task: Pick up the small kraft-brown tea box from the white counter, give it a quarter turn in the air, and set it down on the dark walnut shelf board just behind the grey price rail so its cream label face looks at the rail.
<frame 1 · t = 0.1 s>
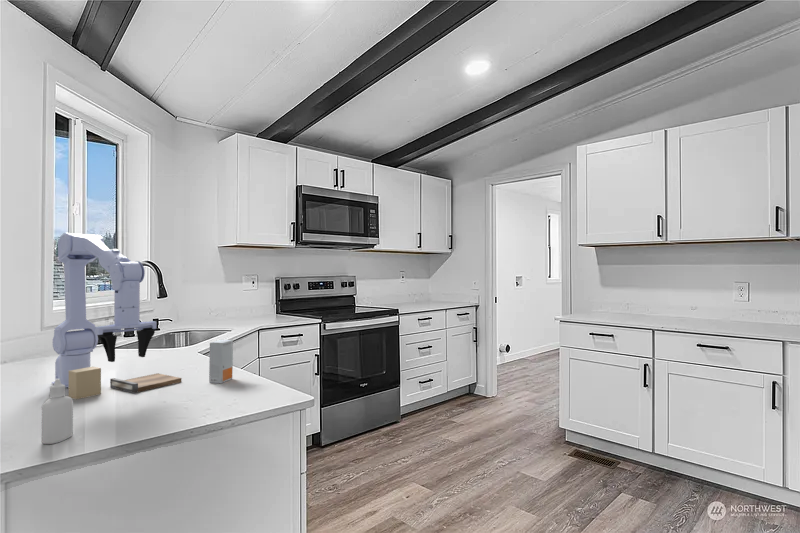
hand: (127, 359, 121), 10 cm above the counter, tool pointing down, fingers open, 7 cm apart
skincare box: (221, 381, 139), on the counter
eye dropper bottle: (57, 440, 92), on the counter
shelf: (146, 384, 135), on the counter
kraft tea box: (84, 395, 123), on the counter
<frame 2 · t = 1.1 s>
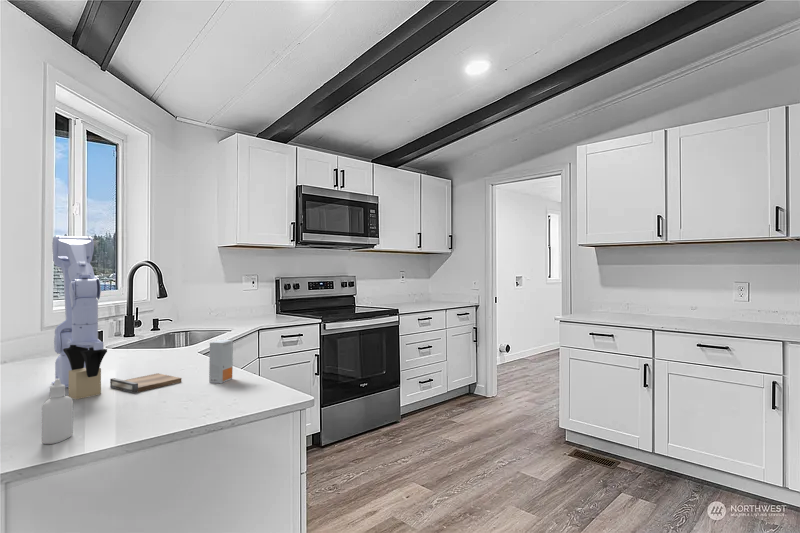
hand: (85, 374, 123), 5 cm above the counter, tool pointing down, fingers open, 7 cm apart
nothing on the counter moved.
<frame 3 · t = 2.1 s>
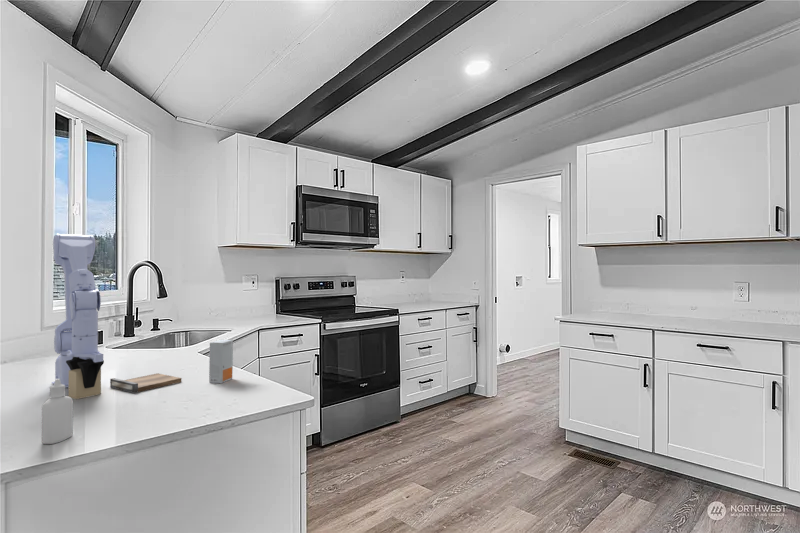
hand: (84, 386, 123), 2 cm above the counter, tool pointing down, fingers closed on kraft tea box, 4 cm apart
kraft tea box: (84, 395, 123), on the counter, touching gripper
everything else where it was.
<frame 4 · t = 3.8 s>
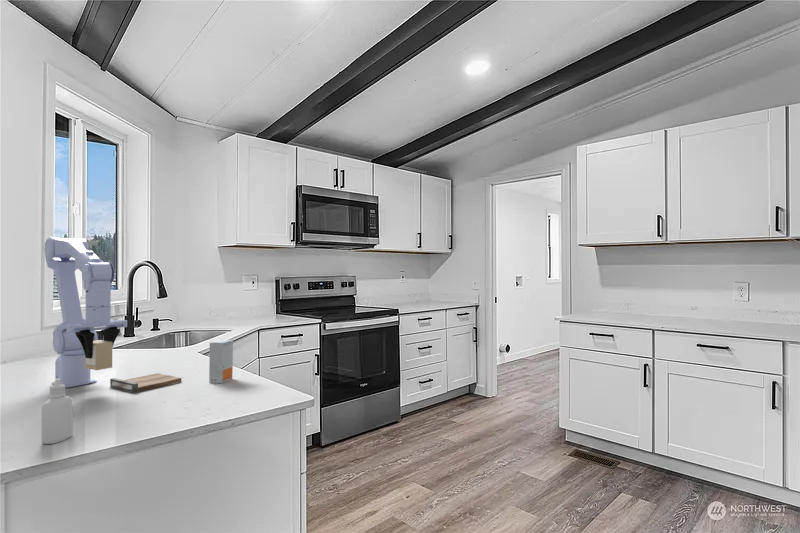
hand: (98, 356, 125), 10 cm above the counter, tool pointing down, fingers closed on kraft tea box, 4 cm apart
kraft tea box: (98, 367, 125), point 7 cm above the counter, touching gripper
everything else where it was.
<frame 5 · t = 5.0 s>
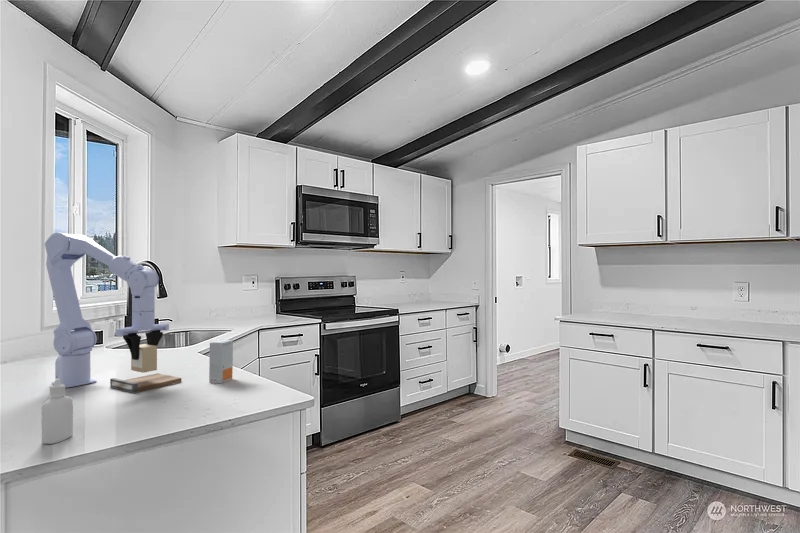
hand: (143, 358, 134), 8 cm above the counter, tool pointing down, fingers closed on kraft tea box, 4 cm apart
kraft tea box: (144, 370, 134), point 4 cm above the counter, touching gripper
everything else where it was.
when the fingers open (5 cm above the counter, at t = 6.0 s): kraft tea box stays where it is, resting on shelf.
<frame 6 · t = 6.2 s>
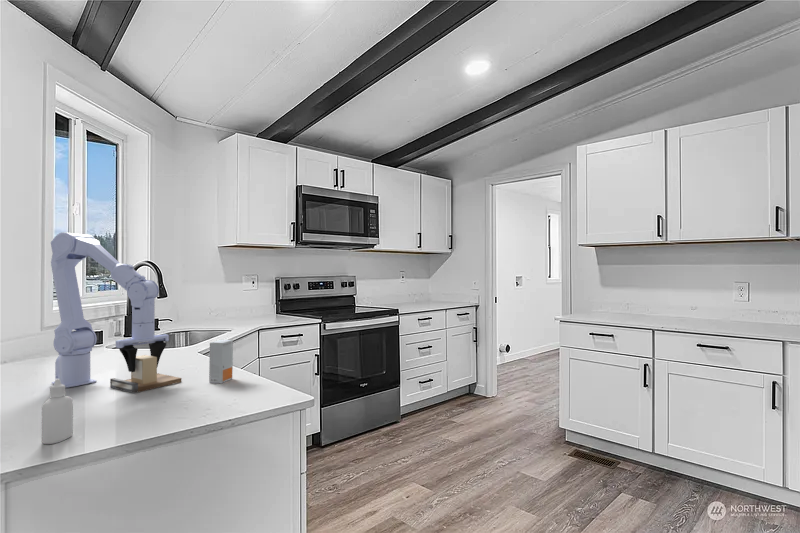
hand: (143, 369, 134), 5 cm above the counter, tool pointing down, fingers open, 6 cm apart
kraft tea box: (144, 381, 134), point 1 cm above the counter, touching shelf
everything else where it was.
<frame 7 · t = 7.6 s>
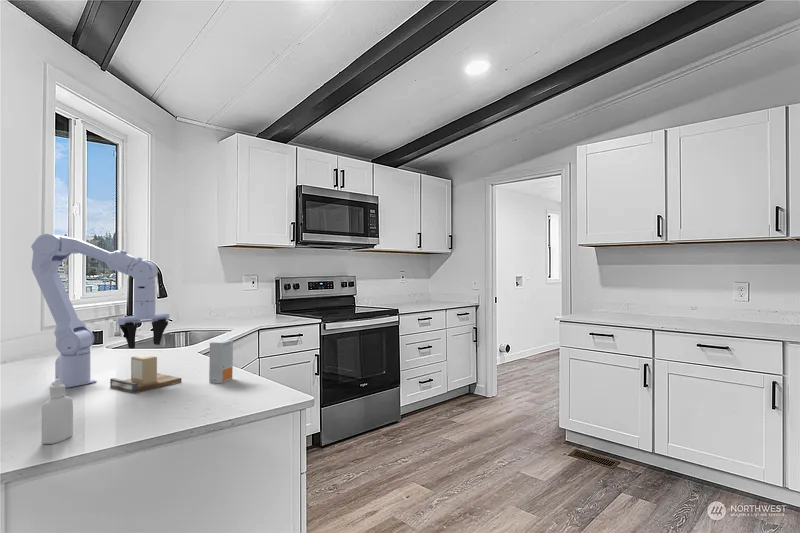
hand: (144, 346, 139), 10 cm above the counter, tool pointing down, fingers open, 7 cm apart
nothing on the counter moved.
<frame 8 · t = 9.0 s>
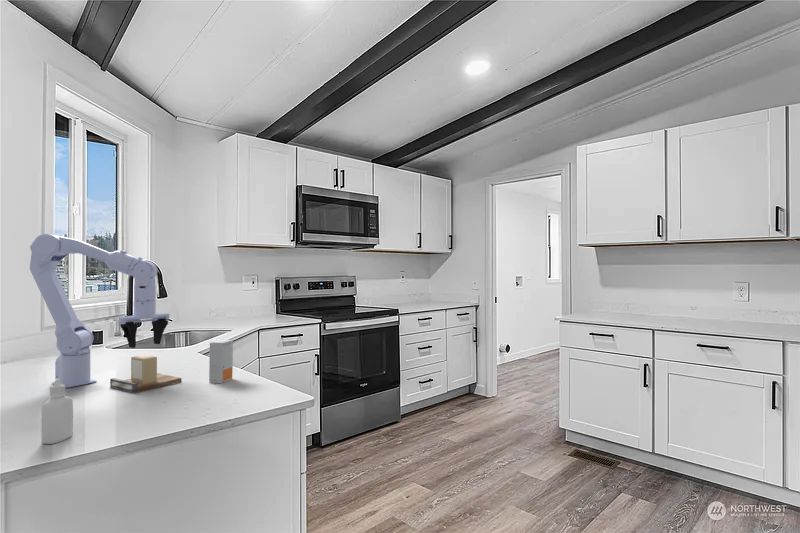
hand: (144, 345, 140), 10 cm above the counter, tool pointing down, fingers open, 7 cm apart
nothing on the counter moved.
at the end: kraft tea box inside the target area on the shelf (1.0 cm from its centre), point 1.2 cm above the shelf's base; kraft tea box tilted 0°; the gripper is holding nothing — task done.
